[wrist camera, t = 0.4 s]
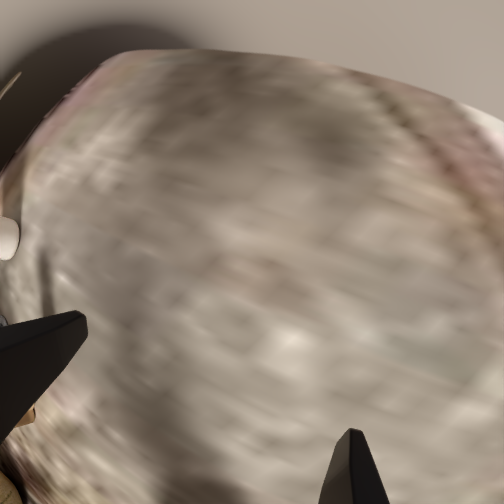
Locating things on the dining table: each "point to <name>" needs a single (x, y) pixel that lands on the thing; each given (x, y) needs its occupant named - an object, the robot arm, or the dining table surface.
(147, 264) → the dining table surface
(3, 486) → the cantaloupe
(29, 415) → the gate
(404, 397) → the dining table surface
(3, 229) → the cream white cylinder
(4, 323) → the post
